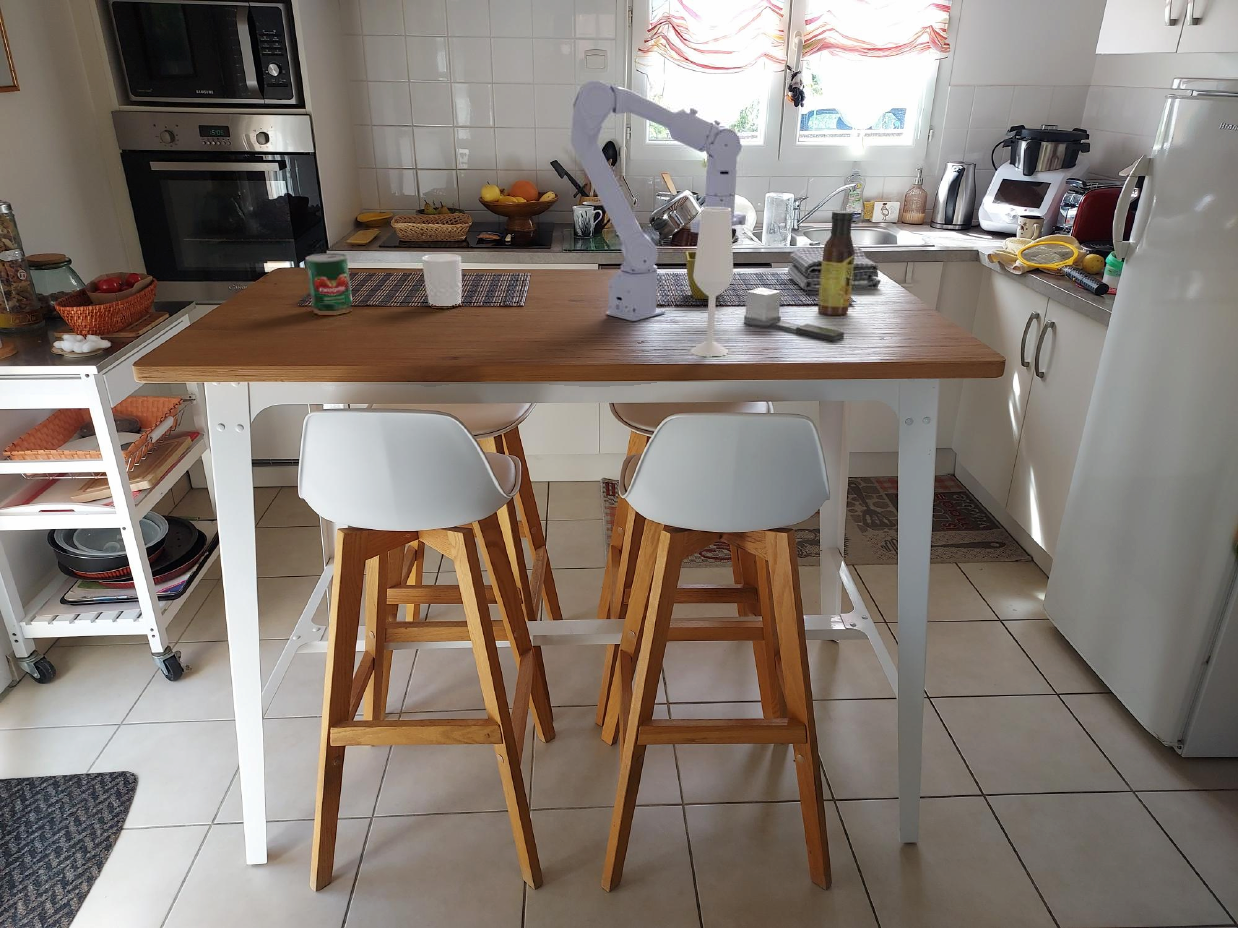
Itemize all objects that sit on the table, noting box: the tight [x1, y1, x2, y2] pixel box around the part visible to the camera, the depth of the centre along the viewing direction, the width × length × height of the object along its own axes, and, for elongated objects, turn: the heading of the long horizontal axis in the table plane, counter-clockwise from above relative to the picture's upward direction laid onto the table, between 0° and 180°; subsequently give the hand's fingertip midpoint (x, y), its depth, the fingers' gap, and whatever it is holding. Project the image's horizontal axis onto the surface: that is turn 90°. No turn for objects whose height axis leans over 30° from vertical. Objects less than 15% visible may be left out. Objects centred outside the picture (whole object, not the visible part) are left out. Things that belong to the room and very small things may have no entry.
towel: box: [787, 245, 881, 291], centre depth 195 cm, size 15×18×8 cm
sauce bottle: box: [817, 210, 855, 316], centre depth 168 cm, size 7×6×20 cm
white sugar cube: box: [744, 287, 782, 321], centre depth 163 cm, size 5×5×5 cm
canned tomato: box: [305, 252, 353, 311], centre depth 171 cm, size 8×8×11 cm
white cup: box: [421, 253, 463, 306], centre depth 175 cm, size 8×8×10 cm
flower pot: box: [685, 251, 721, 300], centre depth 183 cm, size 9×9×9 cm
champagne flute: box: [690, 206, 734, 358], centre depth 142 cm, size 7×7×24 cm
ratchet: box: [743, 315, 845, 344], centre depth 160 cm, size 20×7×4 cm, turn 45°
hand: (716, 265), depth 169 cm, fingers closed
